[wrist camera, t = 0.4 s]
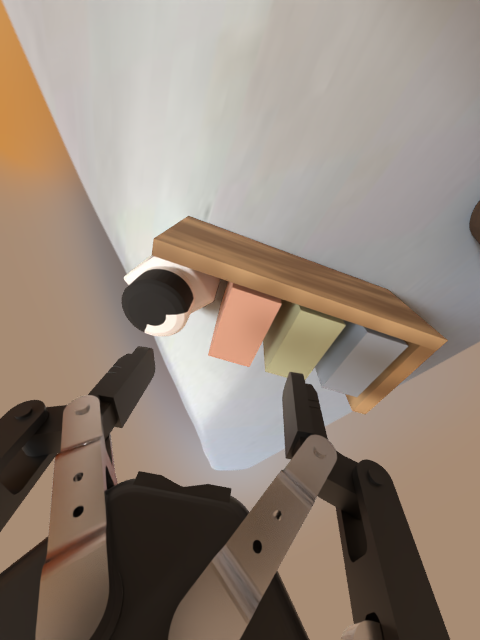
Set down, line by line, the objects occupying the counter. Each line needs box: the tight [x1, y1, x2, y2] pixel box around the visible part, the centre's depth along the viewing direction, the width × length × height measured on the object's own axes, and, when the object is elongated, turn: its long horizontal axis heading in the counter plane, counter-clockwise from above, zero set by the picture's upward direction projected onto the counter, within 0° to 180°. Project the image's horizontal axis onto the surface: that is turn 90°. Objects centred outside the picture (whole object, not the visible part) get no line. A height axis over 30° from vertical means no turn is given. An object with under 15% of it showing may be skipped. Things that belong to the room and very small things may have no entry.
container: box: [122, 255, 220, 336], centre depth 27 cm, size 8×8×13 cm
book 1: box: [208, 281, 282, 367], centre depth 28 cm, size 9×5×12 cm, turn 161°
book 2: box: [263, 299, 346, 379], centre depth 29 cm, size 9×5×12 cm, turn 161°
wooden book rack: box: [152, 216, 448, 414], centre depth 29 cm, size 14×30×12 cm, turn 71°
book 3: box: [315, 319, 408, 397], centre depth 30 cm, size 9×5×12 cm, turn 161°
